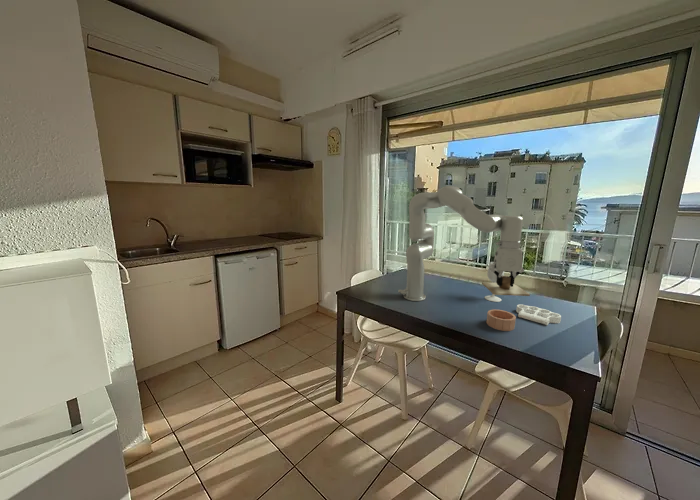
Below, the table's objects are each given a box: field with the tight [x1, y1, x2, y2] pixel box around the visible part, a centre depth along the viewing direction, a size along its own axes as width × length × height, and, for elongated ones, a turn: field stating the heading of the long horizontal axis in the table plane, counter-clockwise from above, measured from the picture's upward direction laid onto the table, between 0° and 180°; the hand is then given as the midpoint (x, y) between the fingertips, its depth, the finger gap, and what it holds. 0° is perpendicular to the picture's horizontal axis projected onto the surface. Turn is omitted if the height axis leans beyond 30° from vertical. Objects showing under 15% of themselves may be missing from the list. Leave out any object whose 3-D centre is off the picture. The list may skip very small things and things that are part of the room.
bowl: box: [486, 308, 517, 332], centre depth 121 cm, size 11×11×5 cm
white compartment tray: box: [515, 303, 562, 326], centre depth 128 cm, size 3×18×15 cm
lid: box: [481, 275, 531, 297], centre depth 117 cm, size 14×14×6 cm
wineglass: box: [484, 261, 505, 303], centre depth 149 cm, size 9×9×21 cm
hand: (504, 285), depth 117 cm, fingers closed on lid, 4 cm apart
